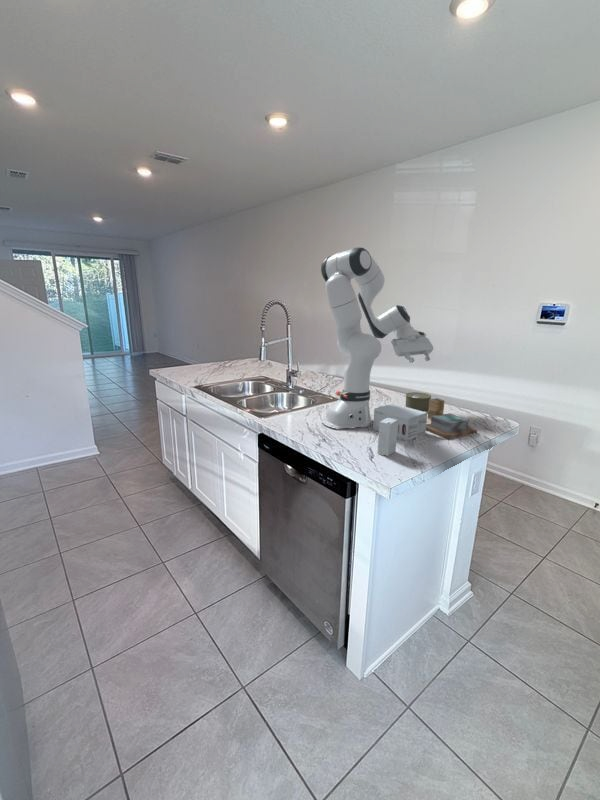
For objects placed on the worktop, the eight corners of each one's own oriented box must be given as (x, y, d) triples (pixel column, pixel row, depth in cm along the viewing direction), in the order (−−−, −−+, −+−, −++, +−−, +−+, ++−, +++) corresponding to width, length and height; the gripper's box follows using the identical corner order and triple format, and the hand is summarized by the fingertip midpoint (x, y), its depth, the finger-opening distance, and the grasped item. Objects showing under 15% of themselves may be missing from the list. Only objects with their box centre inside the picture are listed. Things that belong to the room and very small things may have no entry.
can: (434, 408, 183) (435, 394, 181) (424, 413, 174) (425, 399, 172) (411, 403, 191) (412, 391, 189) (400, 409, 182) (401, 395, 180)
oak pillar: (434, 421, 163) (436, 401, 160) (427, 418, 167) (429, 399, 164) (442, 420, 165) (444, 400, 162) (435, 417, 169) (437, 398, 166)
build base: (446, 439, 142) (448, 425, 140) (421, 428, 154) (422, 415, 153) (476, 433, 148) (478, 419, 146) (450, 423, 160) (451, 410, 159)
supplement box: (372, 429, 153) (373, 408, 151) (392, 423, 161) (393, 402, 159) (406, 441, 140) (408, 418, 138) (426, 433, 148) (428, 411, 146)
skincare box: (384, 448, 133) (386, 416, 130) (396, 451, 130) (398, 419, 127) (376, 453, 129) (378, 421, 126) (388, 457, 126) (390, 423, 123)
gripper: (393, 334, 170) (405, 358, 164) (427, 332, 178) (441, 355, 172) (386, 343, 175) (399, 367, 169) (420, 340, 183) (433, 363, 177)
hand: (420, 361), depth 170 cm, fingers open, 8 cm apart
